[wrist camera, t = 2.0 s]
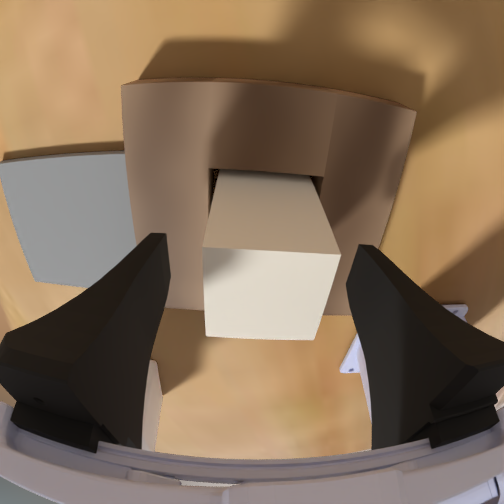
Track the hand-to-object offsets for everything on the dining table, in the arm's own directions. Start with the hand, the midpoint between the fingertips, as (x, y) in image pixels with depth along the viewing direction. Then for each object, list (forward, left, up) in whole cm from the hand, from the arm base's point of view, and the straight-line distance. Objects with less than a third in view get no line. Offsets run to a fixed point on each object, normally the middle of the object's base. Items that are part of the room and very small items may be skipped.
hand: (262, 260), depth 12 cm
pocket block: (0, 0, -5) cm, 5 cm away
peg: (0, 0, -5) cm, 5 cm away
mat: (+11, +2, -5) cm, 12 cm away
